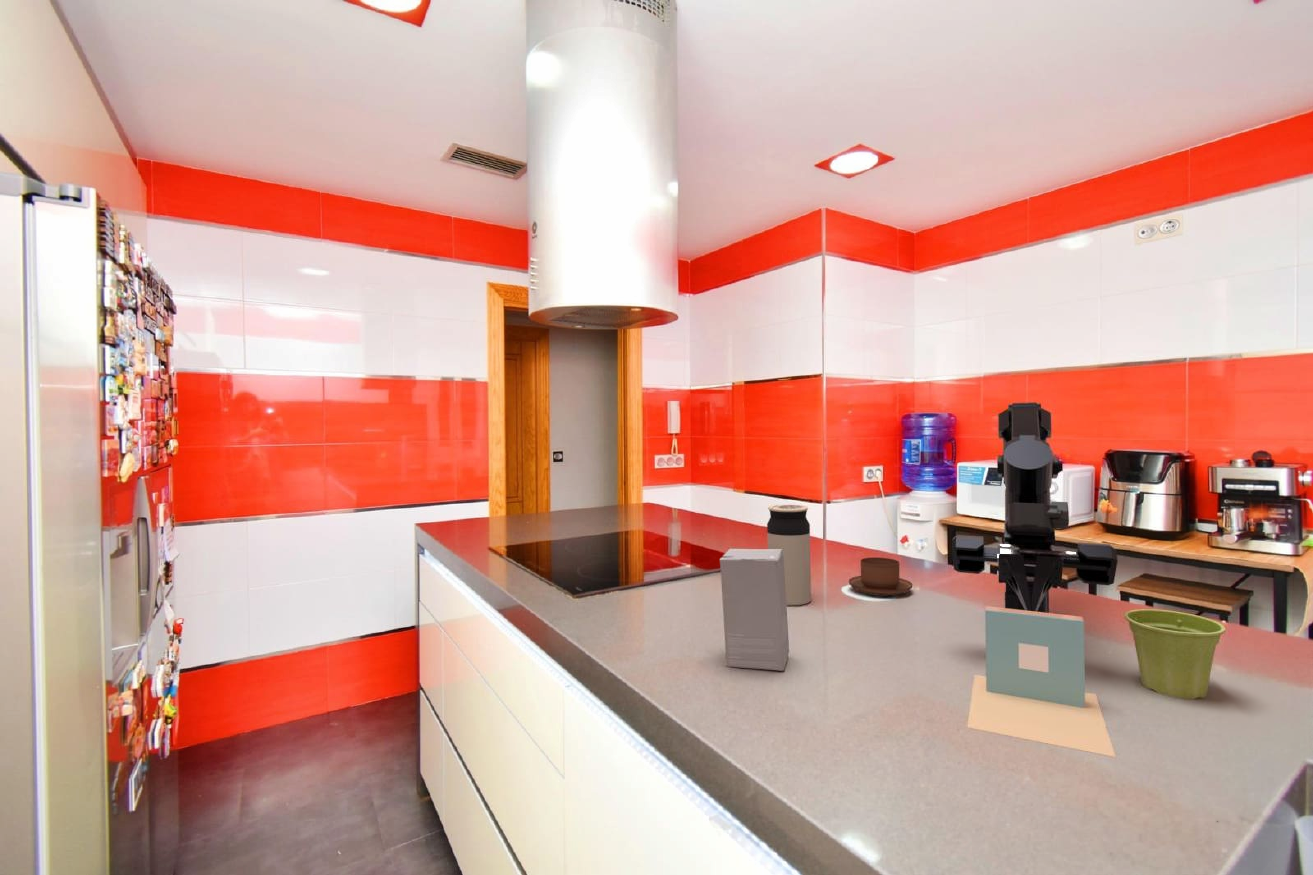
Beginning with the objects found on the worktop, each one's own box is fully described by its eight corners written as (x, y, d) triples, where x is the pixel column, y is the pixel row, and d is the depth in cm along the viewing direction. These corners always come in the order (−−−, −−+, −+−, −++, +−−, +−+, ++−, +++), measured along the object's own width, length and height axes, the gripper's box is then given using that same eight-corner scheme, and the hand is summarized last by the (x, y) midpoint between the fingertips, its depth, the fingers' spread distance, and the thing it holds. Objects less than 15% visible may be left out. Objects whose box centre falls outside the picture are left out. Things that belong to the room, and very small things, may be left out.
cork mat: (974, 677, 81) (974, 674, 81) (1095, 696, 74) (1095, 694, 74) (967, 730, 67) (967, 727, 67) (1115, 760, 60) (1115, 757, 60)
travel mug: (816, 598, 119) (815, 505, 119) (802, 608, 112) (801, 510, 112) (777, 593, 123) (776, 503, 123) (762, 603, 117) (760, 508, 116)
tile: (986, 685, 77) (985, 606, 77) (1083, 701, 72) (1082, 616, 72) (986, 691, 76) (985, 610, 75) (1084, 708, 71) (1084, 621, 70)
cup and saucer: (837, 587, 127) (836, 557, 127) (885, 582, 131) (885, 553, 131) (873, 602, 116) (873, 570, 116) (926, 596, 119) (925, 564, 119)
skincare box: (789, 656, 89) (787, 547, 89) (783, 675, 82) (780, 557, 82) (732, 650, 92) (730, 545, 92) (721, 668, 85) (719, 554, 85)
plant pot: (1235, 714, 69) (1234, 638, 69) (1129, 697, 74) (1129, 625, 74) (1215, 684, 77) (1214, 615, 77) (1121, 670, 82) (1120, 605, 82)
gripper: (951, 478, 87) (945, 571, 78) (1114, 481, 78) (1130, 587, 69) (956, 526, 94) (951, 617, 85) (1106, 534, 85) (1120, 637, 75)
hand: (1031, 614), depth 78 cm, fingers closed
